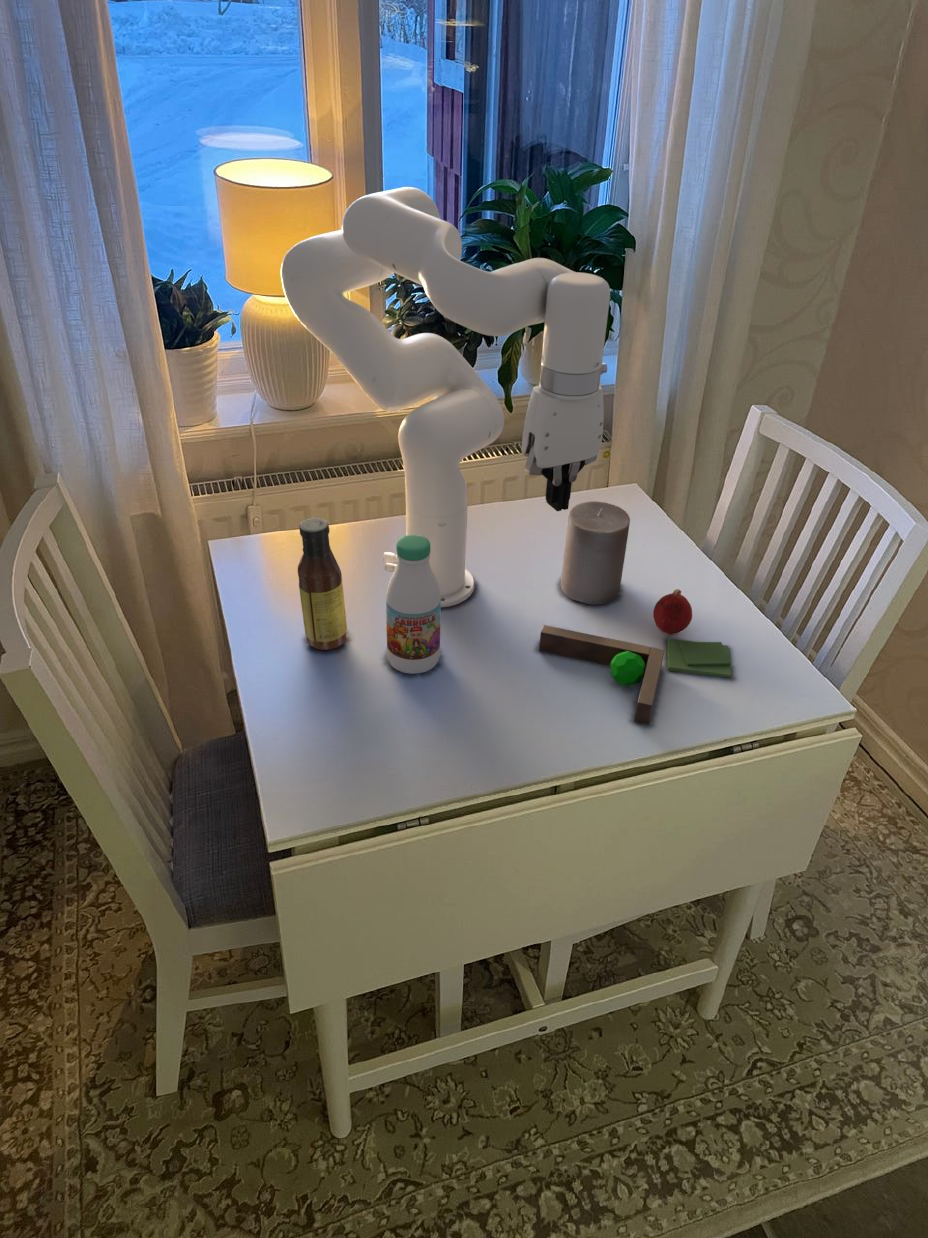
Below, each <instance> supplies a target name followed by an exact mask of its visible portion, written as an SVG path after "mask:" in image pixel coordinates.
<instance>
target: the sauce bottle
mask: <svg viewBox="0 0 928 1238" xmlns="http://www.w3.org/2000/svg"><path fill="white" fill-rule="evenodd" d="M329 525H330V524H329V522H328V521H327V520H326V519H324V518H321V517H311V518H306V519H303V520H302V521H301V522H300V523H299V535H300V537H301V542H302V552H303V553H302V555H301V557H300V560H299V563H298V565H297V577H298V589H299V597H300V604H301V612H302V619H303V620H302V621H303V628H304V634H305V637H306V642H307V644H308V645H310V646H311V647H312V648H314V649H317V650H322V651H330V650H335V649H337V648H339V647H341V646H342V645H343V644H344V643H345V641H346V640H347V630H348V624H347V614H346V613H347V612H346V603H345V594H344V584H343V576H342V575H343V574H342V569H341V567H340V566H339V564H338V561H337V559H336V557H335V554H334V553H333V551H332V549H331V545H330V537H329V536H330V535H329V534H330V531H331V530H330V526H329Z"/></svg>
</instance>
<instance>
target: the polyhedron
mask: <svg viewBox="0 0 928 1238" xmlns="http://www.w3.org/2000/svg"><path fill="white" fill-rule="evenodd" d="M609 667H610V668H609V673H610V676H612V679H613V681H615V683H618V684H620V685H622V686H625V687H628V688H629V687H632V686H636V685H637V684H639V683H641V682H642V681H643V678H644V674H645V662H644V661H643V659H642V658H641V656H639V655H637V654H634V653H632V652H629V651H625V652H622V653H619V654H617V655H616V656H615V657H614V658H613V660H612V661H611V665H610V666H609Z"/></svg>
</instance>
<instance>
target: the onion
mask: <svg viewBox="0 0 928 1238" xmlns="http://www.w3.org/2000/svg"><path fill="white" fill-rule="evenodd" d="M652 614H653V615H652V619H653V621H654V623H655V625H656V627H657V628H658V629H659V630H660V631H661V632H663V633H664V634H666V635H677V634H679V633H681V632H683V631H684V630H686V629H687V628H688V627H689V626H690V624H691V622H692V619H693V607H692V604H691V603H690V602H689V600H688V598H686V597H685V595H682V590H681V589H680V588H677V589H674V590H673V592H672V593H668V594H666V595H663V596H662V597H660V599H659V600H657V602H656V603H655V605H654V607H653V613H652Z"/></svg>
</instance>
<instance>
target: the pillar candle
mask: <svg viewBox="0 0 928 1238" xmlns="http://www.w3.org/2000/svg"><path fill="white" fill-rule="evenodd" d="M630 523H631V518H630V516H629V514H628V512H627V511H626V510H625V509H623V508H622V507H620V506H618V505H615V504H612V503H608V502H606V501H605V502H603V501H596V500H595V501H585V502H581V503H578V504H576V505H574V506H573V507H571V509H570V510H569V512H568V516H567V523H566V524H567V525H566V535H565V542H564V552H563V559H562V570H561V576H560V577H561V578H560V590H561V591H562V594H564V595H565V596H566V597H567V598H569V599H570V600H573V601H577V602H580V603H584V604H587V605H592V606H593V605H594V606H595V605H603V604H608V603H610V602H612V601H614V600H615V599H616V598H617V597H618V596H619V593H620V590H621V583H622V577H623V571H624V563H625V558H626V551H627V545H628V538H629V530H630Z"/></svg>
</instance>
